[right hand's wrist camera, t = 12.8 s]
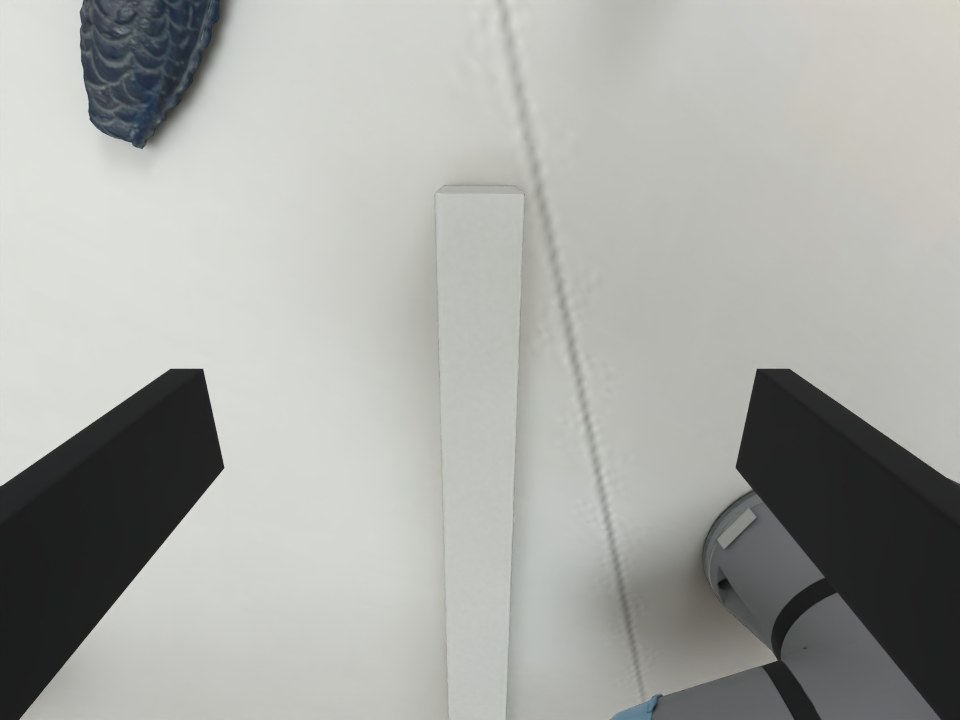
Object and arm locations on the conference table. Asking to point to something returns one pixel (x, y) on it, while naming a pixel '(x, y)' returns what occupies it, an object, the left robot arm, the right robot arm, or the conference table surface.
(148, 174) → the conference table surface
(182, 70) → the fish model
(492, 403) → the beam
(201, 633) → the conference table surface
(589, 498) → the conference table surface
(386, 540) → the conference table surface
